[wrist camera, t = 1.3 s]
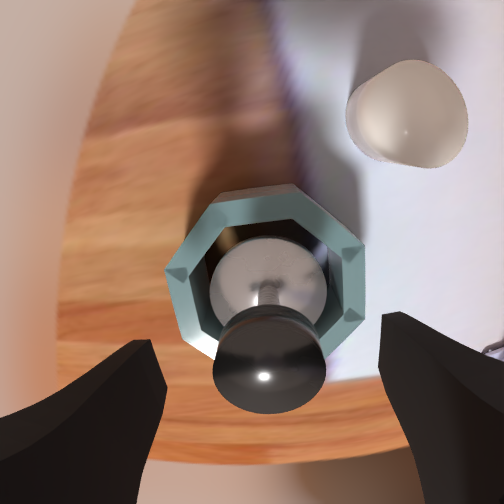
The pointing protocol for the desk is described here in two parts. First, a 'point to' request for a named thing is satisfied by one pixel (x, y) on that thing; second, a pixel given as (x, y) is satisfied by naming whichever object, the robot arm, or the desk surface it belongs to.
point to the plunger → (268, 324)
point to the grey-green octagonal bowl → (256, 211)
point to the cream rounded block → (408, 116)
